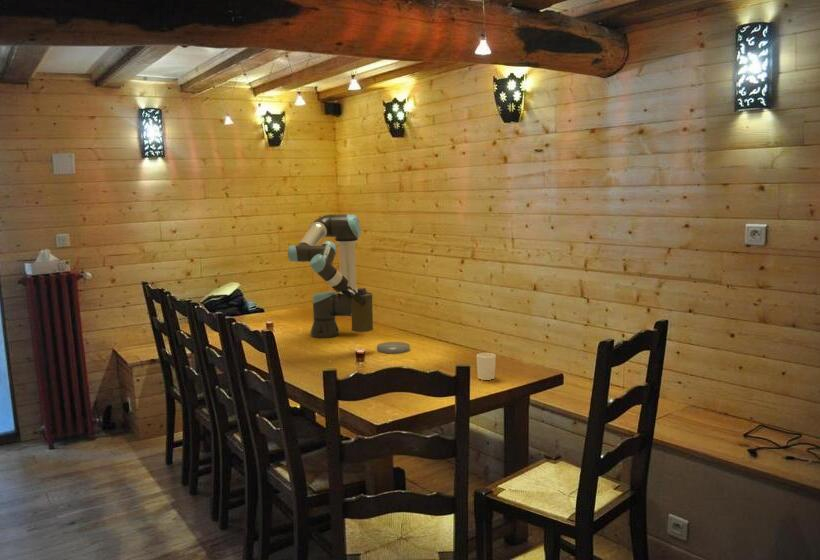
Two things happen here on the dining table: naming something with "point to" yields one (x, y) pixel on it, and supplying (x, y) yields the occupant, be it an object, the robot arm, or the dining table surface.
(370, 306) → the canister
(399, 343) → the disc
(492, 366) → the white cup
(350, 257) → the robot arm
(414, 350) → the dining table surface
